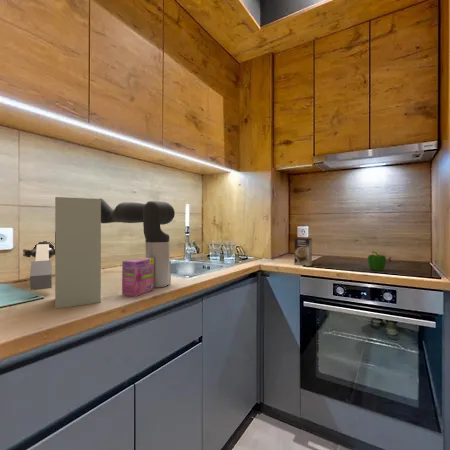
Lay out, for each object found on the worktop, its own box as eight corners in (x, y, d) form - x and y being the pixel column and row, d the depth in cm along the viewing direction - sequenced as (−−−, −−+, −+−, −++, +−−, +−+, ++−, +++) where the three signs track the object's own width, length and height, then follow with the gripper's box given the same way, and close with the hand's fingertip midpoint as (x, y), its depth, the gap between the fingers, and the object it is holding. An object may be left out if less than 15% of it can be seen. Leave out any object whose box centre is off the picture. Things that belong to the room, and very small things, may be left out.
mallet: (33, 253, 109) (33, 240, 106) (52, 252, 112) (51, 239, 109) (30, 290, 93) (29, 276, 90) (51, 288, 96) (51, 274, 93)
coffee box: (293, 264, 166) (294, 237, 166) (297, 263, 172) (297, 237, 172) (309, 266, 161) (309, 238, 161) (312, 264, 167) (312, 238, 167)
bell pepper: (389, 271, 144) (390, 252, 144) (377, 271, 142) (377, 252, 142) (376, 268, 152) (376, 250, 152) (364, 269, 150) (364, 250, 150)
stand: (55, 298, 90) (55, 200, 90) (95, 294, 96) (95, 201, 96) (55, 308, 80) (55, 196, 79) (100, 302, 86) (100, 199, 86)
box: (135, 296, 93) (135, 261, 93) (121, 295, 95) (121, 260, 95) (154, 290, 102) (154, 258, 102) (141, 288, 104) (141, 257, 104)
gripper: (63, 258, 123) (64, 262, 108) (23, 260, 115) (18, 265, 101) (63, 241, 123) (64, 243, 108) (23, 242, 115) (18, 245, 100)
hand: (42, 254), depth 104 cm, fingers closed on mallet, 4 cm apart
